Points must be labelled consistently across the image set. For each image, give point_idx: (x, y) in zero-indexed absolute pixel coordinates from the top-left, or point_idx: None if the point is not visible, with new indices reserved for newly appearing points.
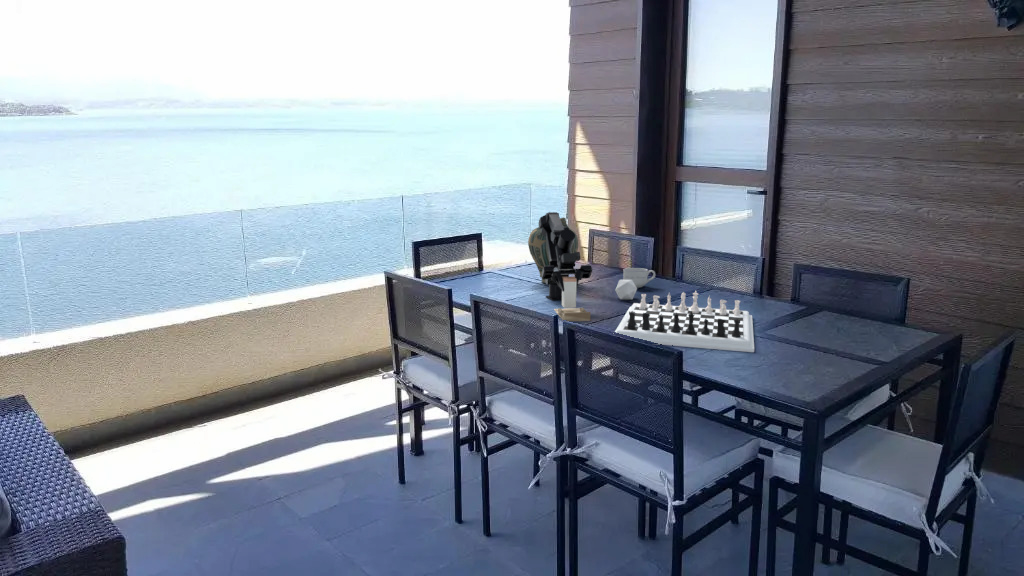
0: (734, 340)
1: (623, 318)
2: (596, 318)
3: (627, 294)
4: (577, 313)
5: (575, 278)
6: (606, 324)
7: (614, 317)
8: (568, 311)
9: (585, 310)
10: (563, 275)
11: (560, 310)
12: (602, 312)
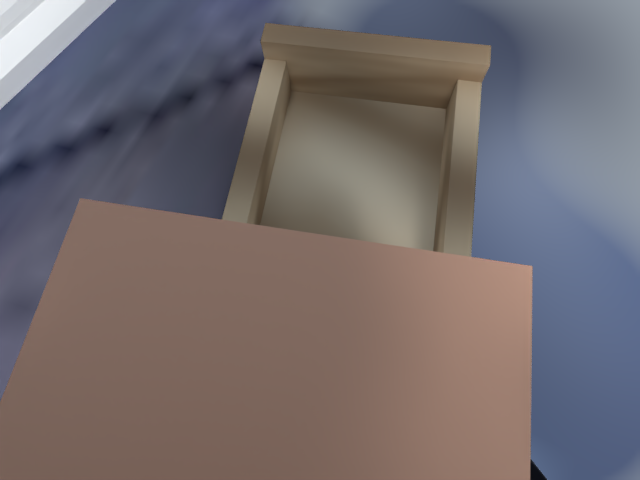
0: None
1: (54, 21)
2: (187, 150)
3: None
4: (376, 38)
5: (69, 282)
6: (206, 9)
7: (50, 142)
8: None
9: (235, 180)
10: None
11: (466, 241)
12: (33, 308)
